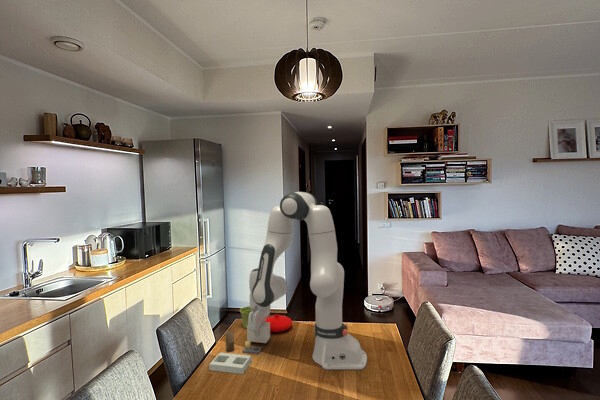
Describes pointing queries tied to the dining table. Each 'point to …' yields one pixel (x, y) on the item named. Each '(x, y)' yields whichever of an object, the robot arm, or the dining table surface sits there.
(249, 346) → the plate
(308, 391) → the dining table surface
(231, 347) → the peg
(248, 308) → the plant pot
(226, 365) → the peg board
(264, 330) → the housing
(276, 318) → the red domed lid
